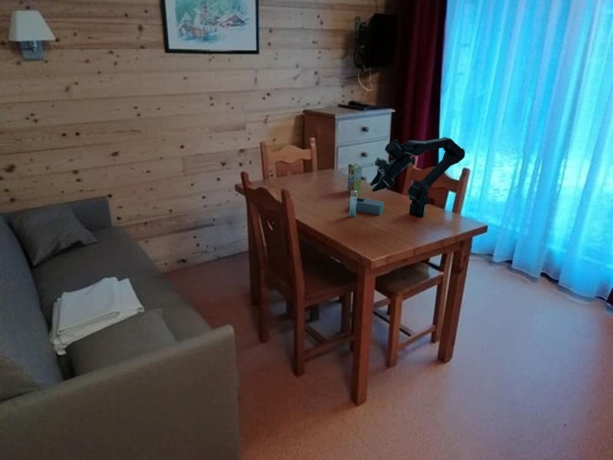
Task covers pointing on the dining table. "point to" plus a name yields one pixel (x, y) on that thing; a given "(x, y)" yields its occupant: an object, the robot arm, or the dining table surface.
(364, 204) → the bar
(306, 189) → the dining table surface
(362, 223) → the dining table surface
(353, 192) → the steel pin
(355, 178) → the candy box
